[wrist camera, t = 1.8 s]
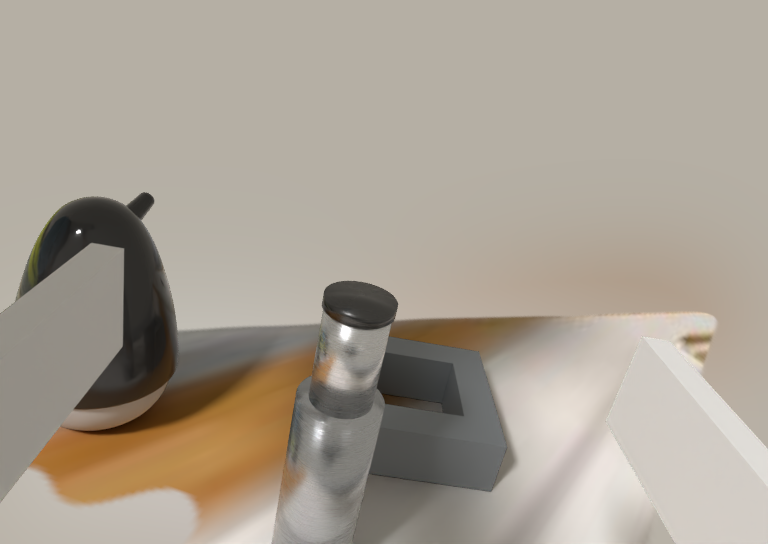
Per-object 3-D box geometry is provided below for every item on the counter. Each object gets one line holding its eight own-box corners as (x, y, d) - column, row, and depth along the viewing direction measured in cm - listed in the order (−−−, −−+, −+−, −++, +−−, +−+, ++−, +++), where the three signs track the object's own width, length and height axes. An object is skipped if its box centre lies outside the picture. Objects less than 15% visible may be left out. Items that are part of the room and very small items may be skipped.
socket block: (320, 466, 39) (330, 419, 38) (333, 367, 50) (341, 328, 49) (491, 491, 40) (507, 447, 39) (467, 389, 51) (478, 351, 50)
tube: (263, 584, 31) (307, 312, 24) (276, 518, 35) (317, 270, 28) (345, 595, 31) (410, 330, 24) (349, 528, 35) (406, 285, 28)
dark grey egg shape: (203, 385, 45) (219, 199, 39) (115, 475, 35) (118, 248, 29) (86, 347, 46) (84, 162, 40) (-28, 425, 36) (-54, 197, 30)
